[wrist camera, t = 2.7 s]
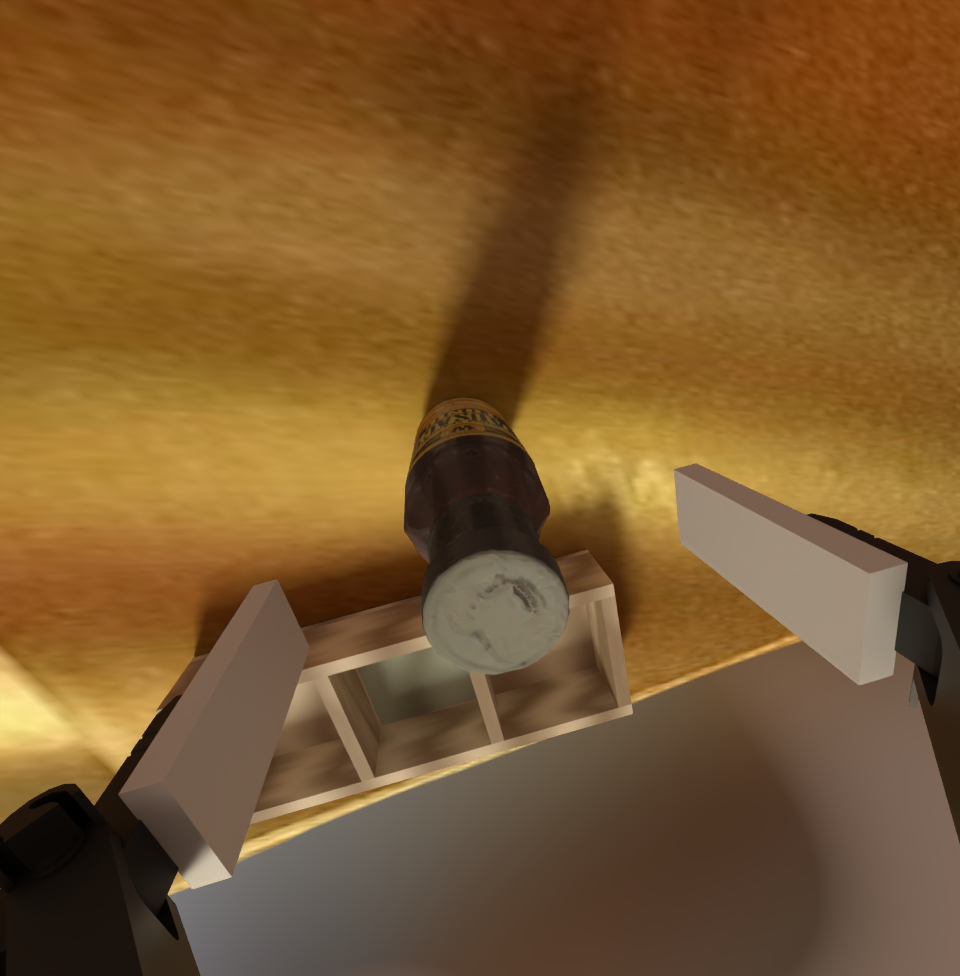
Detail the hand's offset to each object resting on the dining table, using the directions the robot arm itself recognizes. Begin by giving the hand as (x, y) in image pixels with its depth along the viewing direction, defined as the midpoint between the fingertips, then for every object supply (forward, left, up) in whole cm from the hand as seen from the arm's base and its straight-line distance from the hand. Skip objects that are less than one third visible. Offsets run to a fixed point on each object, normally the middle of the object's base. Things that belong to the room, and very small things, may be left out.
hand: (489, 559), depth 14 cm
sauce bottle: (0, 0, -17) cm, 17 cm away
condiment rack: (+8, +17, -17) cm, 25 cm away
